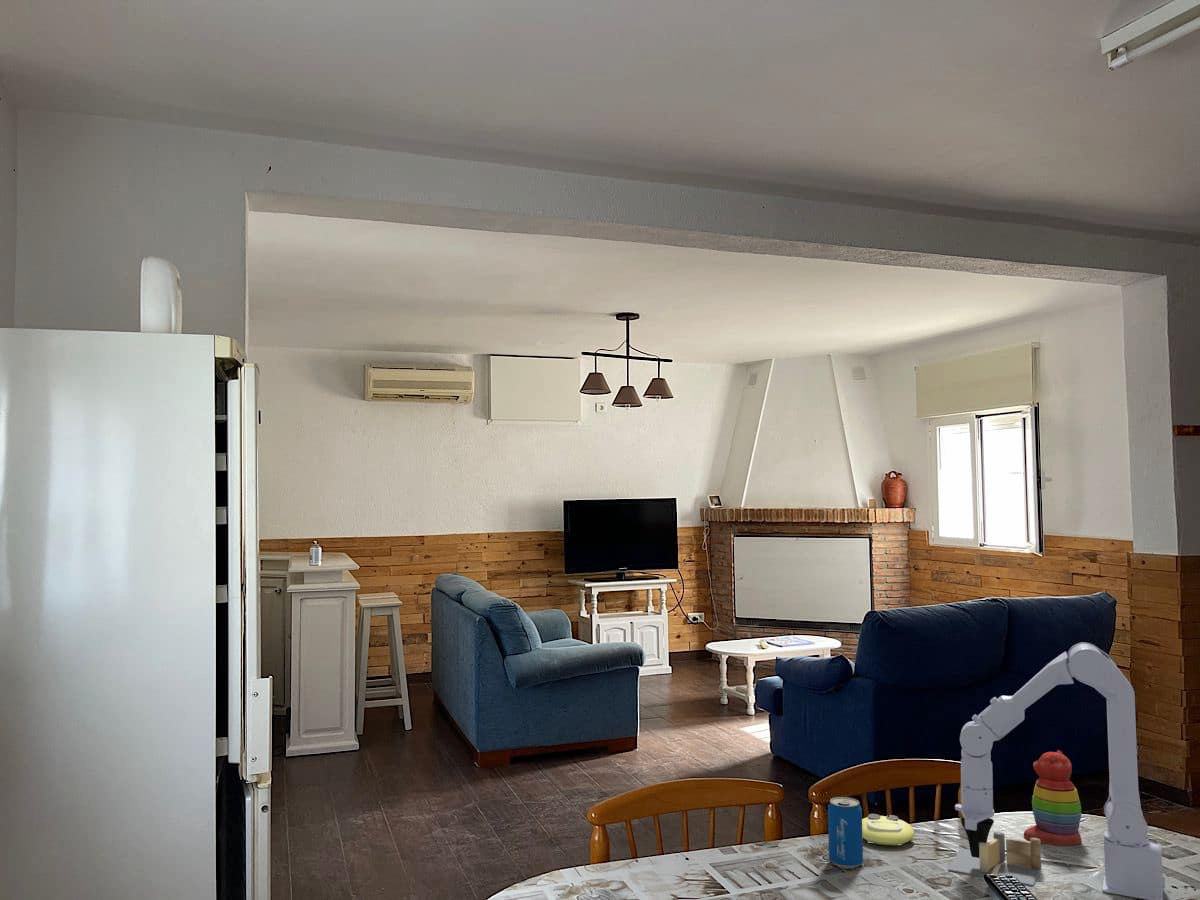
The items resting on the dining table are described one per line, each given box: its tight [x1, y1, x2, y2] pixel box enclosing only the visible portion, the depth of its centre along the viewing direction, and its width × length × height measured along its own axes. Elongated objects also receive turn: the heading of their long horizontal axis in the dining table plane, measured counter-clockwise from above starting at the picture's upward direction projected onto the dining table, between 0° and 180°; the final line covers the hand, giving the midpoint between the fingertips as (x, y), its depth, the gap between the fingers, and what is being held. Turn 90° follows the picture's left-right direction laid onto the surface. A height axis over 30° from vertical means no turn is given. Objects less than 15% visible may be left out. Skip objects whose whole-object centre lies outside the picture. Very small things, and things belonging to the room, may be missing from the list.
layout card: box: [947, 847, 1040, 887], centre depth 184 cm, size 15×13×1 cm
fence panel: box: [979, 831, 1006, 872], centre depth 184 cm, size 9×2×5 cm, turn 137°
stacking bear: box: [1023, 749, 1082, 846], centre depth 201 cm, size 11×10×18 cm
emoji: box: [862, 813, 916, 846], centre depth 201 cm, size 4×12×12 cm
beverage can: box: [827, 796, 864, 869], centre depth 187 cm, size 6×6×12 cm
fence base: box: [1005, 837, 1042, 871], centre depth 184 cm, size 6×2×5 cm, turn 59°
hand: (977, 857), depth 184 cm, fingers closed, pressing on fence panel
